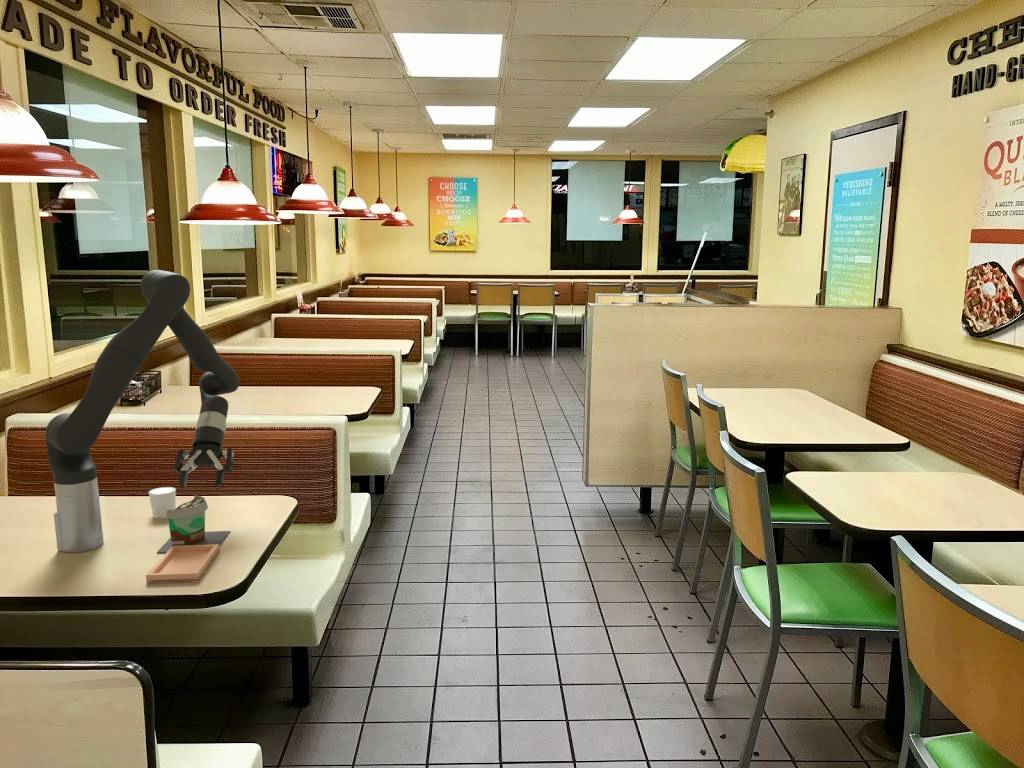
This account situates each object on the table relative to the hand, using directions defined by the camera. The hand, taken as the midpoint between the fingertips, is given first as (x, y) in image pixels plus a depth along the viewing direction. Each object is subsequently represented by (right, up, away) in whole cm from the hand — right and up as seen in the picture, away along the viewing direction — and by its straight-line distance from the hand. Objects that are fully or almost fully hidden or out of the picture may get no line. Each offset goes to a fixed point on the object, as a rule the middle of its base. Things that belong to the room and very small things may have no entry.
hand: (200, 485), depth 199 cm
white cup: (-16, -10, +15) cm, 24 cm away
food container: (+1, -13, -5) cm, 14 cm away
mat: (+1, -14, -5) cm, 15 cm away
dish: (+5, -16, -20) cm, 26 cm away
